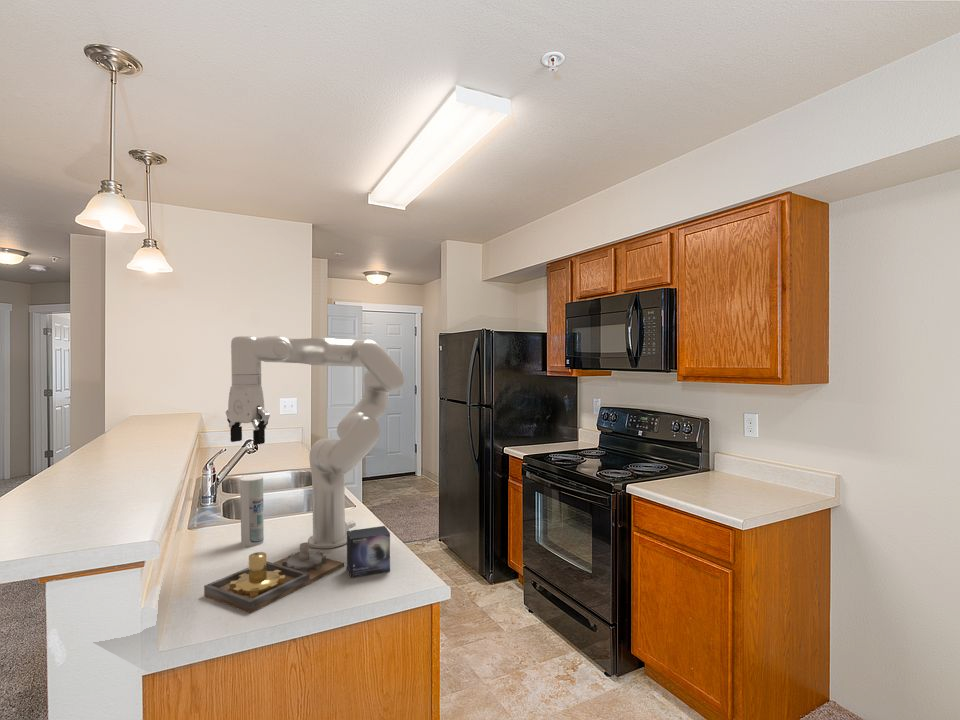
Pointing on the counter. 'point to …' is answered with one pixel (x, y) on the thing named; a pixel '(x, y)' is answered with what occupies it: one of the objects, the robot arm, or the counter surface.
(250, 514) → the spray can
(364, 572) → the small box
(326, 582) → the counter surface
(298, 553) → the carrier plate
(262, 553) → the gear
